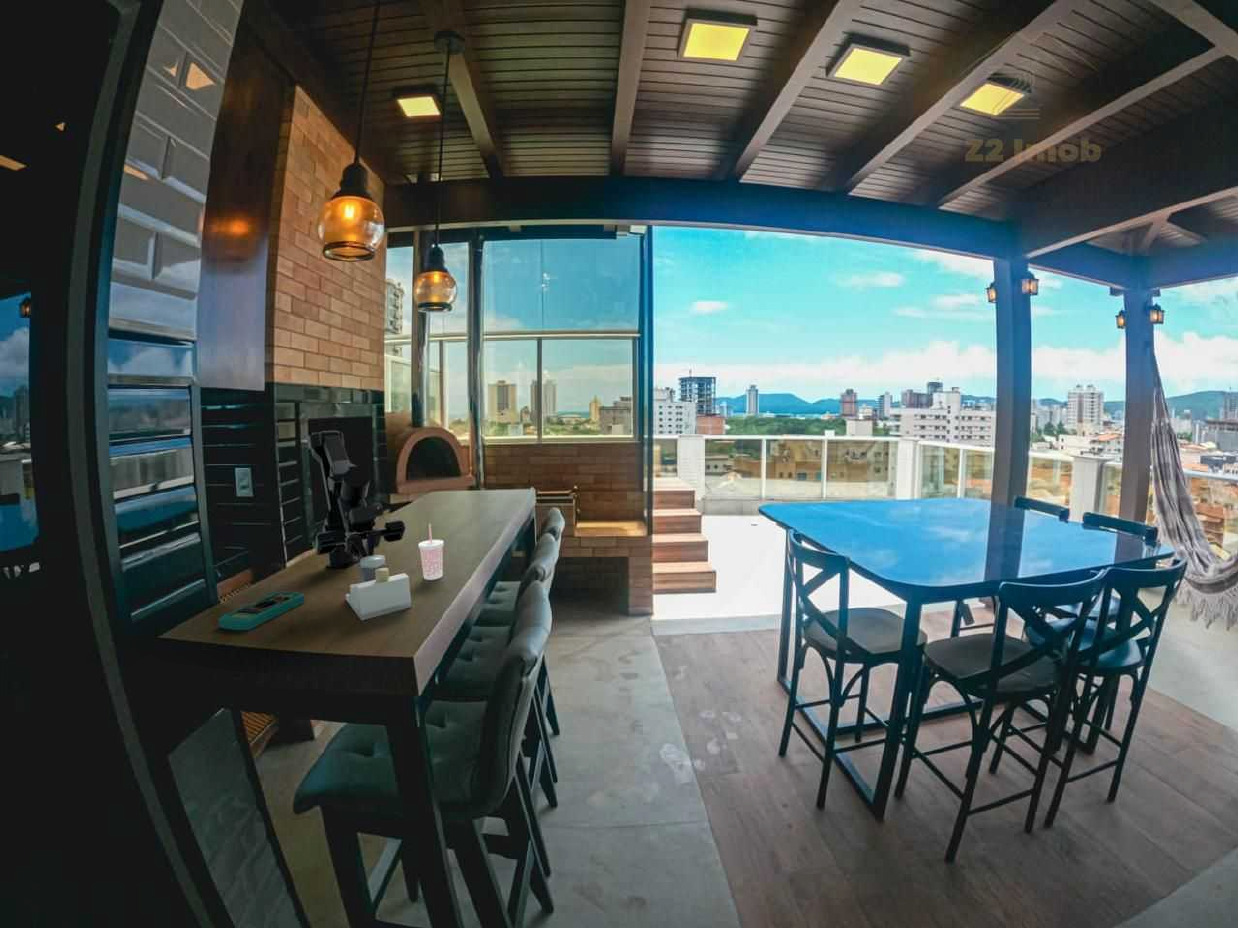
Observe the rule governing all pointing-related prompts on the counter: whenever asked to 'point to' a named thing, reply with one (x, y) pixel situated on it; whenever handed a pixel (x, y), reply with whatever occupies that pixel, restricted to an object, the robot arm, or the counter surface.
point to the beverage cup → (432, 557)
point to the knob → (370, 567)
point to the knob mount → (380, 595)
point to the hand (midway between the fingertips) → (370, 566)
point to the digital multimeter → (261, 610)
